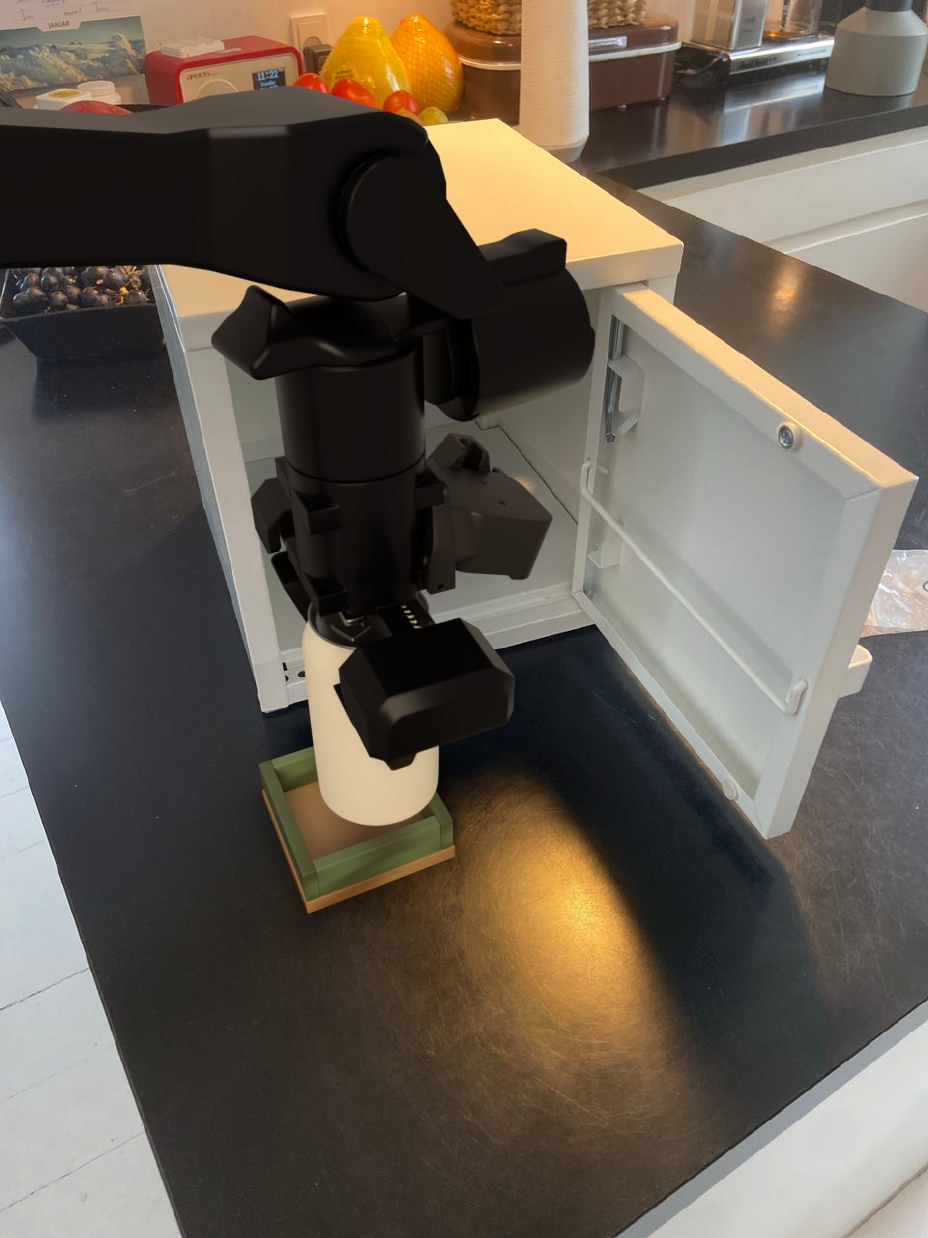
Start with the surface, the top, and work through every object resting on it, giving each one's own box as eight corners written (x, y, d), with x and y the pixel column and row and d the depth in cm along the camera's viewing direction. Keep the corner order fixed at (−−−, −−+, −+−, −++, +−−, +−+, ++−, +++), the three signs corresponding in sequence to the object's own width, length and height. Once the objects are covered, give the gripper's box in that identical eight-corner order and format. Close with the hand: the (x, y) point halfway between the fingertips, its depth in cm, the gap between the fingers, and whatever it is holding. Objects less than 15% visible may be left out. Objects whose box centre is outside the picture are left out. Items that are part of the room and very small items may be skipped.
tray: (308, 914, 53) (301, 878, 51) (263, 799, 59) (255, 763, 57) (455, 856, 56) (455, 820, 54) (398, 753, 62) (395, 717, 60)
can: (463, 779, 50) (467, 605, 43) (379, 852, 46) (368, 675, 39) (378, 724, 53) (368, 553, 46) (294, 788, 49) (268, 613, 42)
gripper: (651, 517, 33) (607, 801, 43) (446, 337, 46) (448, 585, 56) (359, 592, 29) (384, 884, 39) (227, 374, 43) (270, 632, 52)
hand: (377, 721), depth 47 cm, fingers closed on can, 6 cm apart
